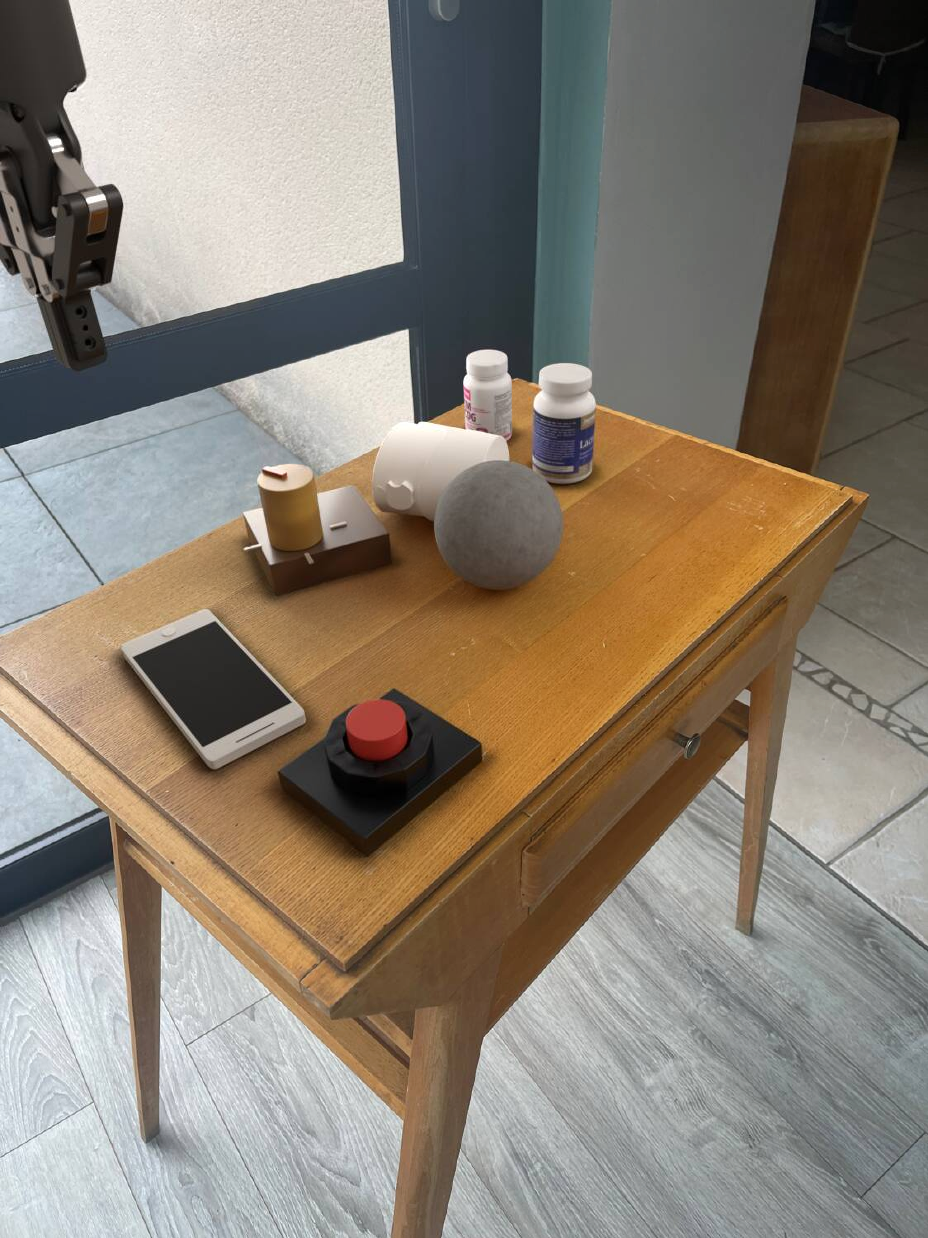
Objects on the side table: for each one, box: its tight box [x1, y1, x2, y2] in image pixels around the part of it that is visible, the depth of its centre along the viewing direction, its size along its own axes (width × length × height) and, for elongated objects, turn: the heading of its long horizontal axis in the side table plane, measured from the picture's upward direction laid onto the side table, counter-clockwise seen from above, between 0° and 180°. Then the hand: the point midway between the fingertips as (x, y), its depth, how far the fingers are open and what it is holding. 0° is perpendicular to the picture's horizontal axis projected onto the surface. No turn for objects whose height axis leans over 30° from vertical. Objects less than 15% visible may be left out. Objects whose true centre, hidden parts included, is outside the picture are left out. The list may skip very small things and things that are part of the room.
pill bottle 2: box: [531, 362, 597, 485], centre depth 86 cm, size 6×6×10 cm
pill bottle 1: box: [463, 349, 513, 442], centre depth 93 cm, size 5×5×8 cm
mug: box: [371, 421, 510, 522], centre depth 82 cm, size 12×9×8 cm
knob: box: [256, 463, 323, 551], centre depth 74 cm, size 4×4×6 cm
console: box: [242, 484, 393, 596], centre depth 78 cm, size 11×10×3 cm
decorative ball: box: [433, 460, 564, 591], centre depth 73 cm, size 10×10×10 cm
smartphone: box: [120, 608, 307, 770], centre depth 66 cm, size 7×15×1 cm, turn 38°
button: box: [346, 698, 408, 761], centre depth 57 cm, size 4×4×2 cm
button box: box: [277, 687, 483, 858], centre depth 58 cm, size 10×8×4 cm
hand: (84, 363), depth 50 cm, fingers closed
